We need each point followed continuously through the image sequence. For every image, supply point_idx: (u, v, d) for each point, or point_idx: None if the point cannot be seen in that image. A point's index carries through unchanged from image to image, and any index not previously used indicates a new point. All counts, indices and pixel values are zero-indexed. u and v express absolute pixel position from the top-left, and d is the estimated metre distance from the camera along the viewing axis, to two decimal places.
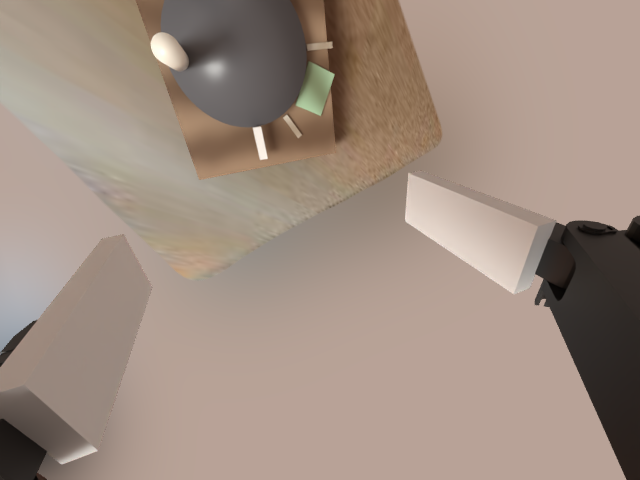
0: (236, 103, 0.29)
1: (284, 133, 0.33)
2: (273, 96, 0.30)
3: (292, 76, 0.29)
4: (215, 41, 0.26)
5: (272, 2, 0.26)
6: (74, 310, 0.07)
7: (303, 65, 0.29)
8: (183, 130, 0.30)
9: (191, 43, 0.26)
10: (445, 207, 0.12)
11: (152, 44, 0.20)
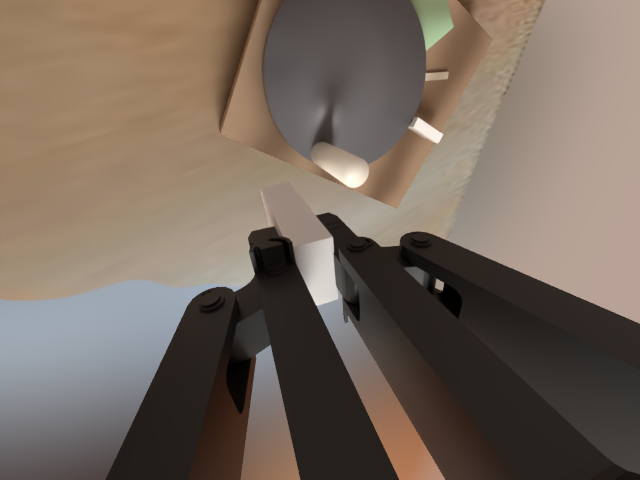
0: (383, 126, 0.24)
1: (430, 92, 0.26)
2: (405, 77, 0.23)
3: (407, 33, 0.21)
4: (330, 102, 0.22)
5: None
6: None
7: (408, 6, 0.20)
8: (359, 191, 0.28)
9: (318, 129, 0.22)
10: None
11: (345, 182, 0.18)
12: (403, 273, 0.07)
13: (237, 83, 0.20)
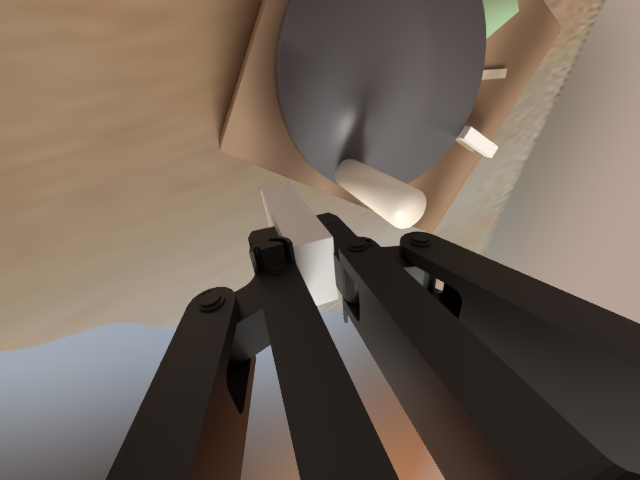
0: (426, 138, 0.19)
1: (482, 94, 0.21)
2: (458, 75, 0.18)
3: (465, 17, 0.16)
4: (362, 108, 0.17)
5: None
6: None
7: None
8: None
9: (346, 143, 0.17)
10: None
11: (394, 222, 0.13)
12: (403, 273, 0.07)
13: (242, 84, 0.15)
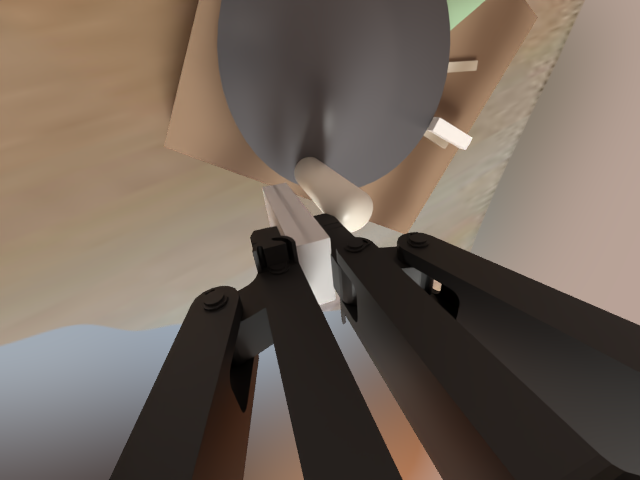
0: (392, 131, 0.18)
1: (453, 88, 0.19)
2: (421, 63, 0.16)
3: None
4: (317, 103, 0.16)
5: None
6: None
7: None
8: None
9: (303, 141, 0.16)
10: None
11: None
12: (400, 274, 0.07)
13: (182, 75, 0.14)
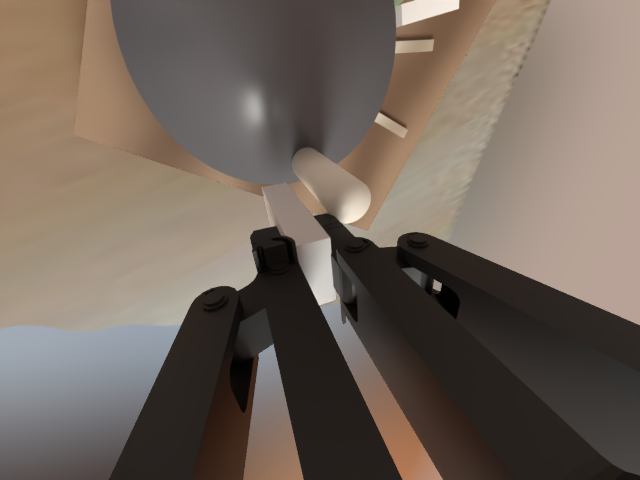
0: (358, 64, 0.15)
1: (408, 71, 0.18)
2: None
3: None
4: (270, 103, 0.15)
5: None
6: None
7: None
8: (312, 210, 0.21)
9: (283, 142, 0.16)
10: None
11: (346, 221, 0.12)
12: (401, 274, 0.07)
13: (84, 53, 0.13)
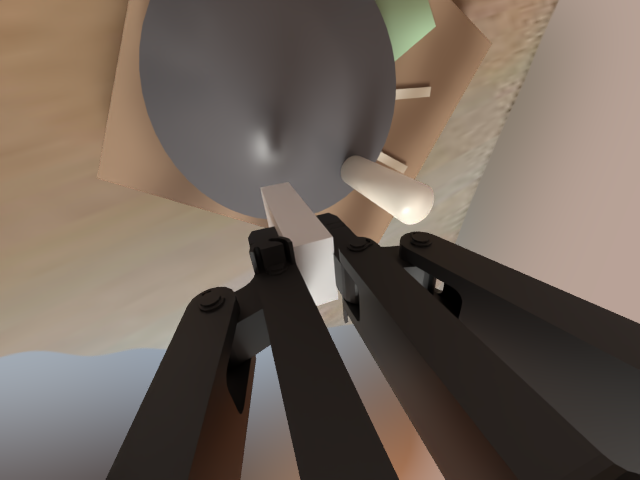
0: (356, 60, 0.15)
1: (407, 114, 0.19)
2: None
3: None
4: (302, 145, 0.16)
5: (179, 105, 0.13)
6: None
7: None
8: None
9: (327, 167, 0.17)
10: None
11: (419, 219, 0.13)
12: (403, 273, 0.07)
13: (111, 107, 0.14)
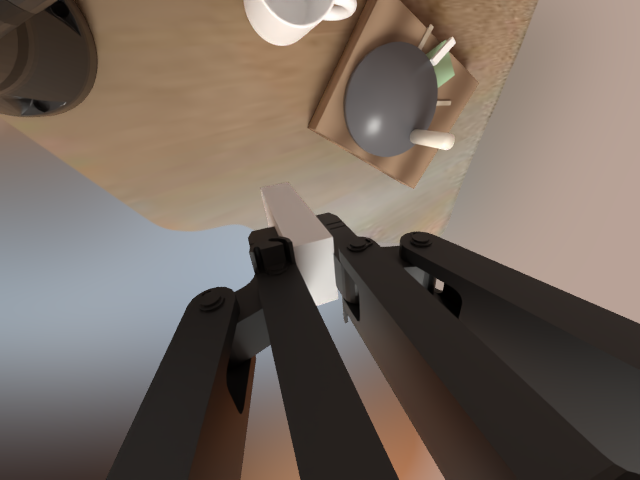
0: (423, 88, 0.37)
1: (439, 112, 0.41)
2: (406, 62, 0.35)
3: (387, 56, 0.34)
4: (396, 122, 0.38)
5: (357, 102, 0.35)
6: None
7: (376, 52, 0.33)
8: (390, 173, 0.43)
9: (404, 133, 0.39)
10: None
11: (449, 148, 0.34)
12: (403, 273, 0.07)
13: (329, 101, 0.35)
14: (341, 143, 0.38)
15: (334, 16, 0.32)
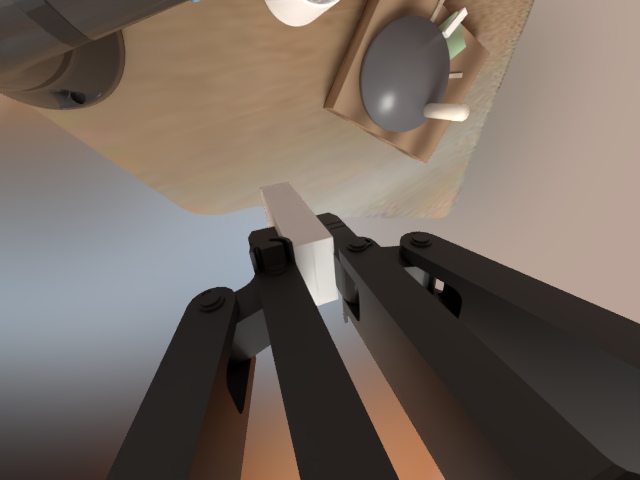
0: (435, 61, 0.38)
1: (451, 85, 0.42)
2: (420, 36, 0.36)
3: (401, 31, 0.34)
4: (410, 97, 0.39)
5: (373, 78, 0.36)
6: None
7: (390, 27, 0.34)
8: (405, 149, 0.44)
9: (418, 108, 0.40)
10: None
11: (463, 119, 0.36)
12: (403, 273, 0.07)
13: (346, 79, 0.36)
14: (357, 121, 0.39)
15: None
